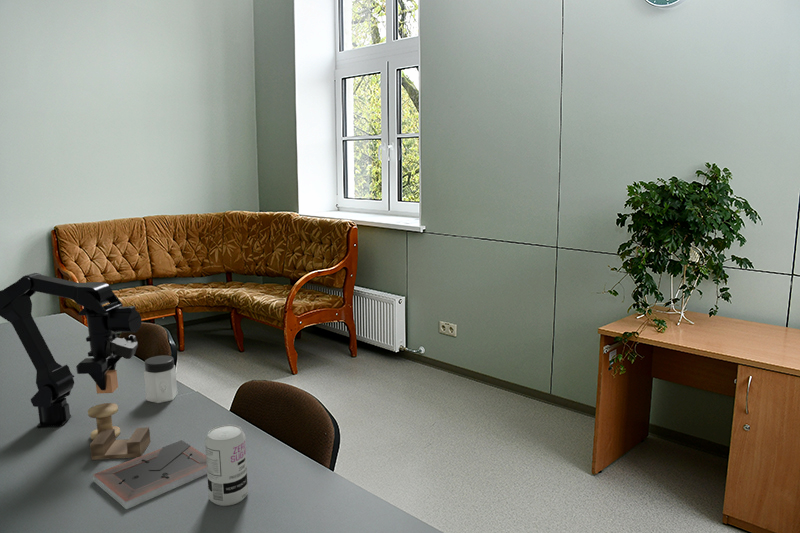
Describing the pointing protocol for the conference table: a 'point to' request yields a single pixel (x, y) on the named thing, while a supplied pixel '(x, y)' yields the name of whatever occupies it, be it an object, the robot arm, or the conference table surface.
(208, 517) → the conference table surface
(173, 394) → the jar
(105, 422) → the spool
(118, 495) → the picture frame
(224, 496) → the supplement can
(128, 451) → the notch board
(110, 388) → the light brown wooden block
